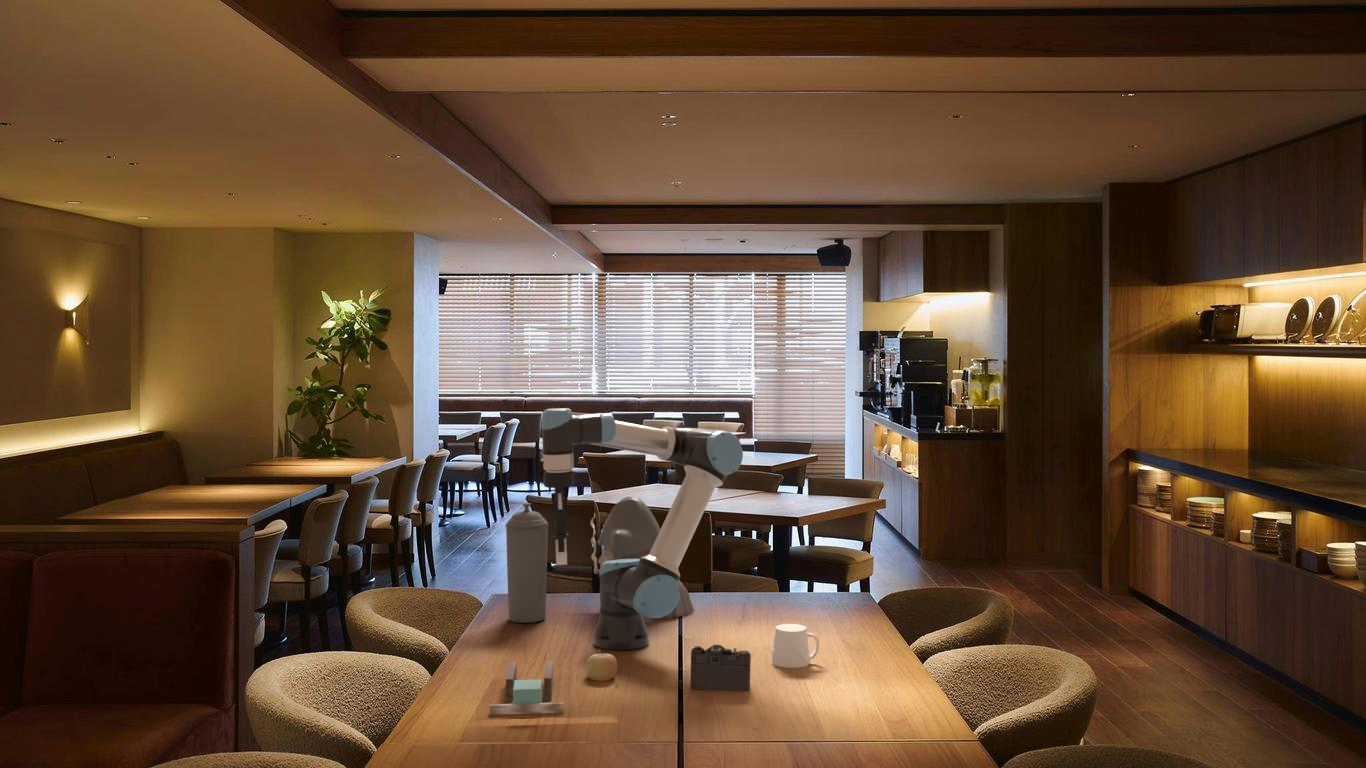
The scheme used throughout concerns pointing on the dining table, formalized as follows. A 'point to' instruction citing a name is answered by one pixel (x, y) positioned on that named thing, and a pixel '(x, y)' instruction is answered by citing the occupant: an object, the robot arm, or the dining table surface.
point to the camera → (720, 669)
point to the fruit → (601, 667)
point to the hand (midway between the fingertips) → (561, 563)
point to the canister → (527, 566)
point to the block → (527, 691)
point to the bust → (634, 542)
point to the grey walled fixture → (528, 707)
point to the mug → (792, 646)
